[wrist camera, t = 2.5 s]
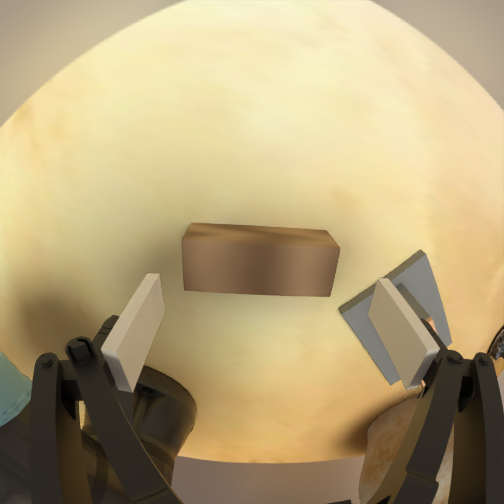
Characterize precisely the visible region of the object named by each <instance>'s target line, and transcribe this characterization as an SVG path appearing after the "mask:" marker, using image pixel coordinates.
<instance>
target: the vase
mask: <svg viewBox="0 0 504 504" xmlns="http://www.w3.org/2000/svg"><path fill="white" fill-rule="evenodd" d="M417 397H418V395H417V396H414V397H411V398H409V399H407V400H404V401H402V402H400V403H399V404H397V405H395V406H393V407H392V408H390V409H388V410H387V411H385V412H384V413H383V414H381V415H380V416H379V417H378V418H376V419H375V420H374V421H373V422H372V424H371V425H370V426H369V428H368V430H367V437H368V446H367V451H366V455H365V460H364V464H363V468H362V472H361V476H360V481H359V499H360V503H361V504H366V503H367V502H368V501H369V500H370V499H371V497H372V496H373V495H374V494H375V493H376V491H377V489H378V488H379V486H380V484H381V483H382V481H383V479H384V477H385V475H386V474H387V472H388V470H389V468H390V466H391V464H392V462H393V460H394V458H395V456H396V454H397V452H398V450H399V448H400V445H401V443H402V441H403V439H404V437H405V434H406V432H407V430H408V427H409V425H410V422H411V420H412V417H413V415H414V412H415V409H416V407H417V404H418V401H419V399H417ZM419 398H420V397H419ZM453 446H454V422H453V426H452V430H451V434H450V437H449V441H448V444H447V448H446V451H445V454H444V457H443V460H442V463H441V466H440V469H439V472H438V474H437V477H436V481H437V482H439V487H438V491H437V493H436V495H435V498H434V500H433V503H432V504H448V498H449V492H450V484H451V475H452V464H453Z"/></svg>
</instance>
